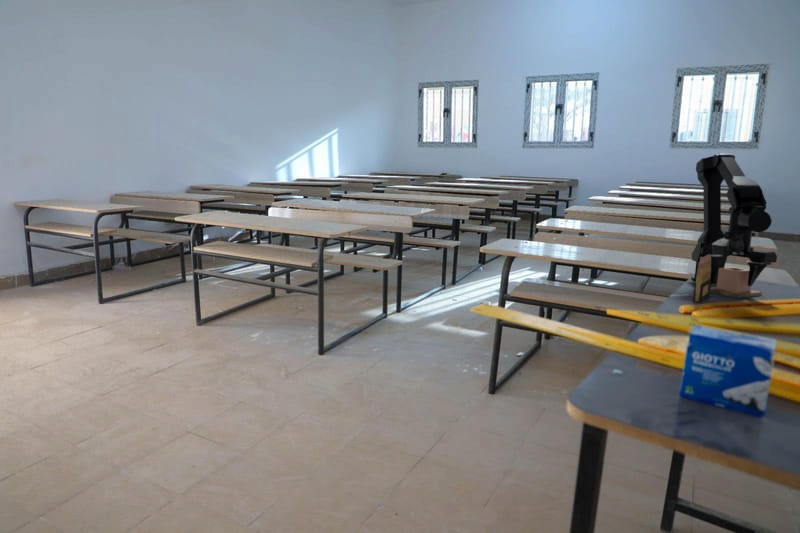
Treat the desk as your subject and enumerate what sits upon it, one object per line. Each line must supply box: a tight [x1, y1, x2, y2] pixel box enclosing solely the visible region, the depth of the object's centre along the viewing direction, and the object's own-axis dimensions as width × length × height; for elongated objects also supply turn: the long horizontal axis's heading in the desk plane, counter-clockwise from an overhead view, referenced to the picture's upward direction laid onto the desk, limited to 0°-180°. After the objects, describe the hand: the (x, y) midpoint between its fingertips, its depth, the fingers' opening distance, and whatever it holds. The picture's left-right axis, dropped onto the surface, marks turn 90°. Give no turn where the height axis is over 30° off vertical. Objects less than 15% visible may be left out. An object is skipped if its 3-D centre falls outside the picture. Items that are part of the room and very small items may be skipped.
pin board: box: [710, 286, 763, 299], centre depth 157 cm, size 10×10×5 cm
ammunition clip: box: [692, 254, 712, 304], centre depth 148 cm, size 11×2×12 cm, turn 139°
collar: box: [716, 266, 752, 293], centre depth 157 cm, size 6×6×6 cm
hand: (734, 282), depth 157 cm, fingers open, 9 cm apart
